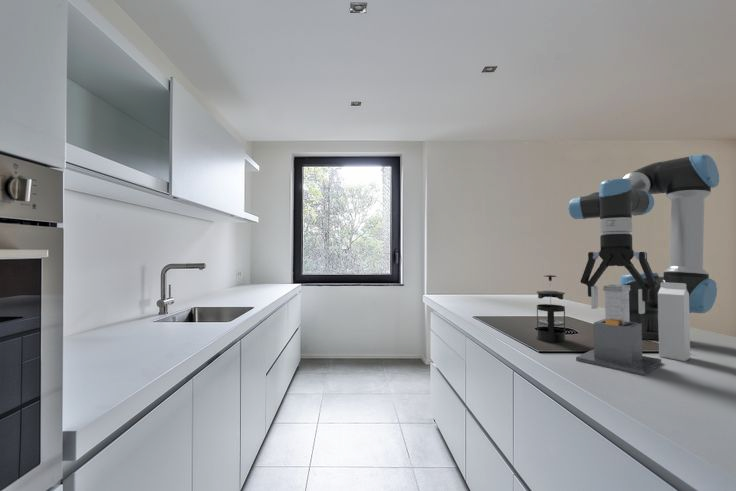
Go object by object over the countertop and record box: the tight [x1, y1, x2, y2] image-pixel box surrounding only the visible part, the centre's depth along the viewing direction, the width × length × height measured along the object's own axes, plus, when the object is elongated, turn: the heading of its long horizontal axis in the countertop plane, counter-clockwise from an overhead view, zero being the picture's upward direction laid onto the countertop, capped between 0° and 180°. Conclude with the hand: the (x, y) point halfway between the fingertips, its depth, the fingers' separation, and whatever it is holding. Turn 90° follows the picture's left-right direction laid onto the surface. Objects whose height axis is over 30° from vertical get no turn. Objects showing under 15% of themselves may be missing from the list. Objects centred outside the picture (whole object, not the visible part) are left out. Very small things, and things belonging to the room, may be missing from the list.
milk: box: [658, 282, 691, 362], centre depth 105 cm, size 6×6×22 cm
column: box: [602, 284, 630, 326], centre depth 101 cm, size 7×4×20 cm, turn 129°
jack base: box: [575, 318, 662, 376], centre depth 101 cm, size 16×16×12 cm
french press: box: [536, 274, 567, 344], centre depth 127 cm, size 12×9×23 cm
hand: (617, 310), depth 101 cm, fingers open, 11 cm apart
